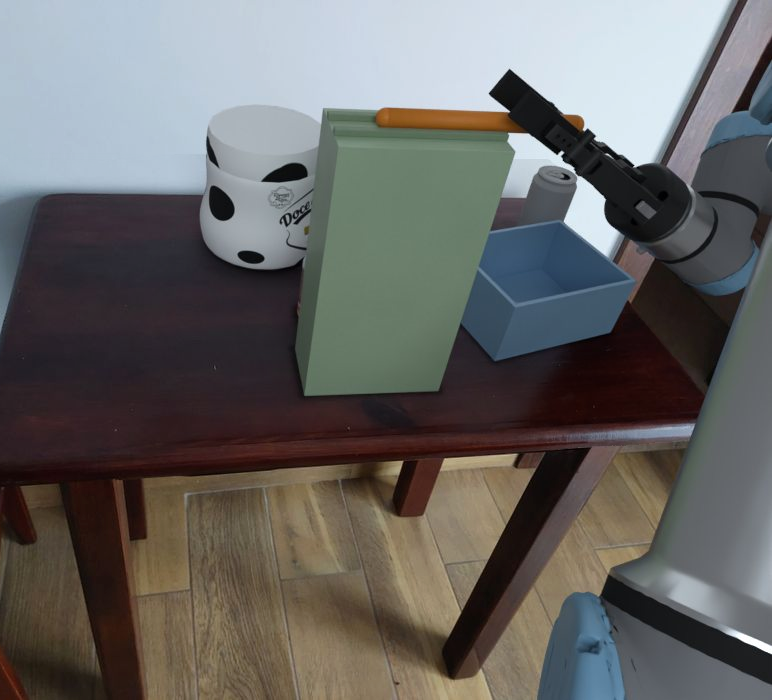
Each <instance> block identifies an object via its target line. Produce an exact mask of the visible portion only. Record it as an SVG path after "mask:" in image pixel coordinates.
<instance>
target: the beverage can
mask: <svg viewBox="0 0 772 700" xmlns="http://www.w3.org/2000/svg"><path fill="white" fill-rule="evenodd" d="M577 182H578V175H576V174H575V172H573V171H571V170H570V169H567V168H564V167H561V166H557V165H543V166H541V167H539V168H538V171H537V172H536V173H535V174H534V175H533V176H532V180H531V182H530V185H529V188H528V192H527V194H526V196H525V200H524V203H523V206H522V208H521V212H520V214H519V217H518V220H517V223H516V226H515V227H519V226H525V225H531V224H537V223H543V222H549V221H555V220H561V221H562V222H564V223H565V219H566V217H567V214H568V211H569V209H570V208H571V207H570V206H571V204H572V201H573V199H574V196H575V194H576V191H577V190H578V186H577Z"/></svg>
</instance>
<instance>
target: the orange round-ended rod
mask: <svg viewBox="0 0 772 700" xmlns="http://www.w3.org/2000/svg"><path fill="white" fill-rule="evenodd" d="M378 110H379V111H378V112H377V114H376V118H375V119H376V123H377V125H378V126H379V127H385V128H414V129H444V130H473V131H503V132H507V133H508V134H525V135H527V134H528V135H530V134H529V133H528V132H527V131H525V130H524V129H523V128H521V127H520V126H519V125H518V124H516V123H515V122H514V121H512V120H511V119H510V118H509V117H508V116H507V115H508V114H509V112H510V111H488V110H487V111H486V110H465V109H463V110H461V109H440V108H437V109H435V108H412V107H382V108H380V109H378ZM560 115H562V116H563V117H564V118H565V119H566V120H568V121H569V122H570V123H571V124H572V125H574V126H575V127H576V128H577V129H578V130H579V131H580V132H581V131H582V130H584V128H585V120H584V118H583V116H580V115H579V114H566V113H565V114H564V113H563V114H560ZM580 132H579V133H580ZM579 133H578V134H579Z"/></svg>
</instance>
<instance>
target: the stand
mask: <svg viewBox="0 0 772 700" xmlns="http://www.w3.org/2000/svg"><path fill="white" fill-rule="evenodd" d="M379 110H380V109H361V108H360V109H358V108H335V107H333V108H331V107H323V108H322V113H321V120H320V124H321V130H320V138H319V147H318V155H317V164H316V173H315V181H314V190H313V199H312V207H311V216H310V224H309V233H308V242H307V250H306V259H305V267H304V276H303V285H302V293H301V302H300V311H299V316H298V318H297V319H298V321H297V329H296V330H297V331H296V337H295V345H294V351H295V355H296V361H297V366H298V371H299V376H300V377H299V378H300V381H301V386H302V391H303V396H304V397H313V396H315V397H316V396H339V395H344V396H345V395H365V394H366V395H368V394H392V393H393V394H395V393H398V394H399V393H422V392H423V393H424V392H439V391H440V387H441V384H442V381H443V378H444V375H445V372H446V370H447V366H448V363H449V360H450V357H451V353H452V351H453V348H454V345H455V341H456V338H457V335H458V331H459V328H460V326H461V319H462V316H463V313H464V310H465V307H466V304H467V301H468V298H469V295H470V292H471V288H472V285H473V282H474V279H475V276H476V273H477V270H478V267H479V264H480V261H481V258H482V254H483V251H484V248H485V245H486V242H487V239H488V236H489V233H490V231H492V227H493V223H494V221H495V217H496V214H497V211H498V207H499V205H500V201H501V200H502V199H501V198H502V195H503V192H504V190H505V189H504V188H505V186H506V183H507V180H508V177H509V173H510V171H511V167H512V165H513V161H514V158H515V155H516V150H515V149H514V148H513V147H512V145H511V144H510V143H509V142H508V141H509V139H510V138H509V137H510V133H507V132H503V131H473V130H444V129H414V128H385V127H379V126H378V125H377V123H376V119H375V118H376V114H377V112H378V111H379Z"/></svg>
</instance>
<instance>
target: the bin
mask: <svg viewBox="0 0 772 700" xmlns="http://www.w3.org/2000/svg"><path fill="white" fill-rule="evenodd" d="M637 282H638V280H636V278H634V277H633V276H632V275H630V274H629V273H628V272H627V271H625V270H624V269H623V268H622V267H620V266H619V265H618V264H616V263H615V262H614V261H613V260H612V259H610V258H609V257H608V256H606V255H605V254H604V253H603V252H602V251H600V250H599V249H598V248H596V247H595V246H594V245H593V244H592V243H590V242H589V241H588V240H586V239H585V238H584V237H583V236H581V234H579V233H578V232H577V231H575V230H574V229H572V228H571V227H570V226H569V225H568V224H566V223H565V221H564V222H562V221H561V220H555V221H549V222H543V223H537V224H531V225H525V226H519V227H516V226H514V227H506V228H501V229H496V230H490V233H489V236H488V239H487V242H486V245H485V248H484V251H483V254H482V258H481V261H480V264H479V267H478V270H477V273H476V276H475V279H474V282H473V285H472V288H471V292H470V295H469V298H468V301H467V304H466V307H465V310H464V313H463V316H462V319H461V323H460V325H462V326H463V328H464V329H465V330H466V331H467V332H468V333H469V334H470V336H472V338H473V339H474V340H475V341H476V342H477V343H478V344H479V346H480V347H481V349H483V350H484V351H485V353H486V354H487V355H488V356H489V357H490V358H491V359H492V360H493V361H494V362H498V361H501V360H505V359H509V358H513V357H518V356H520V355H521V356H522V355H525V354H529V353H530V354H531V353H534V352H538V351H542V350H546V349H550V348H554V347H558V346H561V345H562V346H563V345H565V344H569V343H575V342H578V341H583V340H586V339H590V338H594V337H598V336H603V335H607V334H611V333H612V330H613V329H614V327H615V325H616V323H617V321H618V319H619V317H620V315H621V314H622V311H623V310H624V308H625V305H626V304H627V302H628V300H629V298H630V297H631V294H632V293H633V290H634V288H635V286H636V284H637Z"/></svg>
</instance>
